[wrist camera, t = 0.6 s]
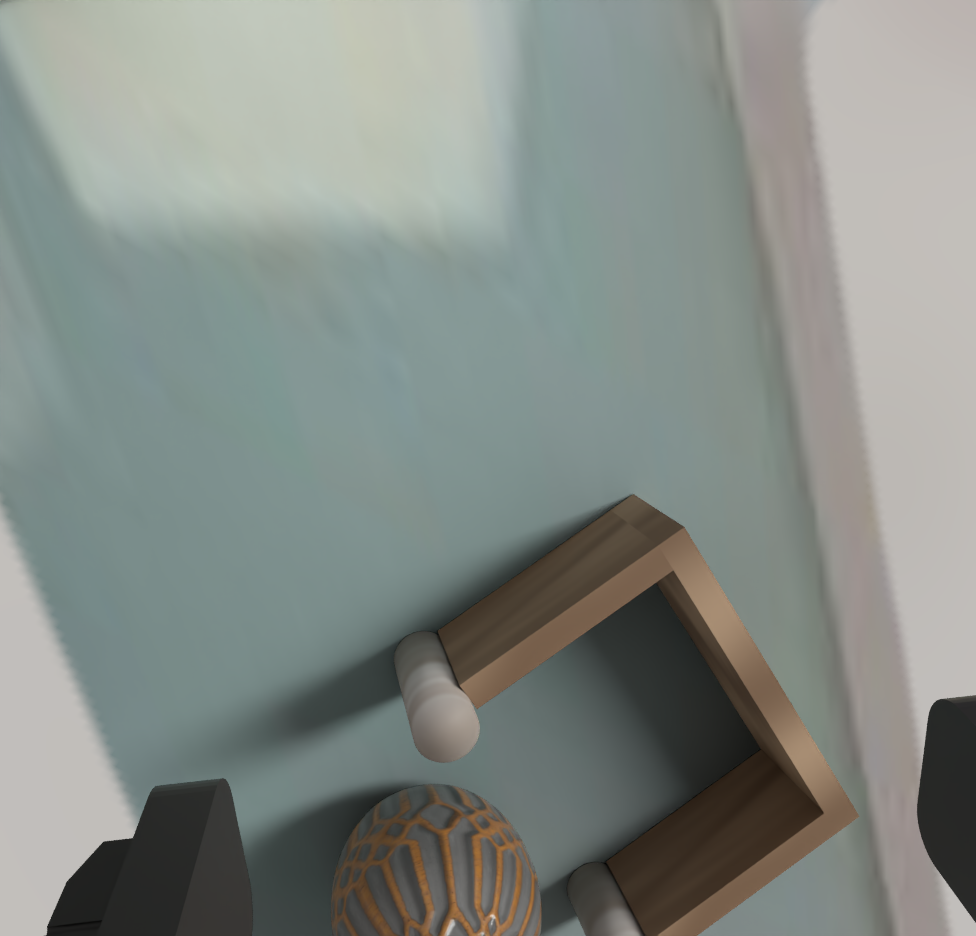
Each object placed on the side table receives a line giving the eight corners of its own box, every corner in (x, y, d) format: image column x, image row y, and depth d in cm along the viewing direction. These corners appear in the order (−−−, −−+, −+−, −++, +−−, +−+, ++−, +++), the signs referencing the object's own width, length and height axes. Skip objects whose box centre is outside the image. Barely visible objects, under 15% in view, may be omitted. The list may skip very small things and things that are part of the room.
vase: (443, 950, 35) (489, 1162, 27) (289, 874, 33) (287, 1076, 25) (548, 806, 35) (628, 975, 26) (399, 721, 33) (434, 873, 24)
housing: (382, 653, 32) (400, 727, 27) (626, 482, 33) (690, 522, 28) (583, 917, 36) (632, 1027, 31) (798, 761, 37) (882, 843, 31)
